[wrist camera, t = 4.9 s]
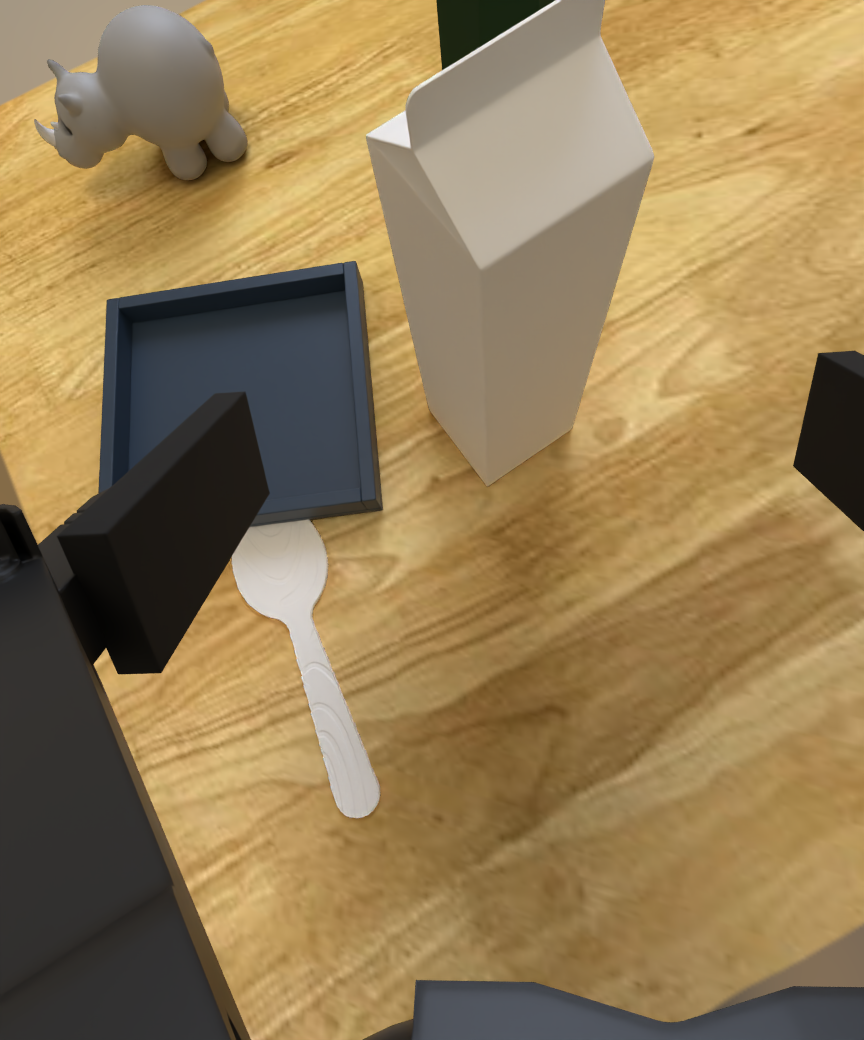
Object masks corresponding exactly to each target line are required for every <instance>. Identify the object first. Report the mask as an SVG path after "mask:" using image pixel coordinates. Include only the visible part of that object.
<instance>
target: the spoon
mask: <svg viewBox="0 0 864 1040" xmlns="http://www.w3.org/2000/svg"><path fill="white" fill-rule="evenodd" d="M232 565H233V568H232V569H233V573H234V577H235V580H236V583H237V586H238V590H239V592H241V595H242V596H243V597H244V599H245V600H246V602H247V603H248V604H249V605H250V606H251V607H252V608H254V609H255V610H256V611H257V612H259V613H260V614H262V615H264V616H267V617H269V618H273V619H278V620H280V621H282V622H283V623H285V624H286V625H287V628H288V629H289V631H290V637H291V639H292V642H293V645H294V648H295V650H294V652H295V654H296V657H297V659H296V661H297V663H298V666H299V668H300V671H301V674H302V677H301V678H302V681H303V683H304V686H303V687H304V689H305V692H306V695H307V698H308V701H309V704H308V705H309V707H310V709H311V712H312V713H311V715H312V719H313V721H314V725H315V727H316V730H315V731H316V734H317V736H318V739H319V742H320V743H319V746H320V747H321V752H322V754H323V756H324V757H323V760H324V763H325V766H326V769H327V772H328V775H329V777H328V779H329V781H330V784H331V786H330V788H331V790H332V793H333V796H334V799H335V802H336V804H337V807H338V808H340V811H341V812H343V814H345V815H346V817H347V816H348V817H349V816H350V818H351V817H352V818H353V817H354V818H357V817H358V818H359V817H360V818H362V817H364V816H366V815H369V814H370V813H371V811H374V808H375V807H376V806H377V804H378V802H379V799H380V796H381V795H380V793H381V792H380V785H379V782H378V779H377V776H375V773H374V770H373V768H372V766H371V763H370V761H369V758H368V755H367V752H366V750H365V749H364V746H363V743H362V740H361V737H360V734H358V731H357V728H356V725H355V722H354V721H353V718H352V716H351V713H350V710H349V707H348V706H347V703H346V700H345V698H344V697H343V694H342V691H341V688H340V685H339V682H338V681H337V679H336V676H335V673H334V672H333V670H332V667H331V664H330V661H329V658H328V656H327V654H326V651H325V648H323V645H322V642H321V639H320V636H319V633H318V631H317V630H316V627H315V624H314V621H313V618H312V617H313V616H312V614H313V609H314V606H315V604H316V603H317V602H318V600H319V598H320V597H321V594H322V592H323V590H324V588H325V585H326V581H327V577H328V567H329V566H328V565H329V564H328V557H327V552H326V547H325V545H324V542H323V539H322V538H321V535H319V532H318V531H317V529H316V528H315V526H314V524H313V523H312V522H311V520H309V519H307V520H302V521H294V522H286V523H277V524H269V525H262V526H254V527H249V529H248V530H247V532H246V534H245V535H244V537H243V538H242V540H241V542H240V543H239V545H238V547H237V548H236V550H235V552H234V553H233V555H232ZM345 815H344V816H345ZM358 818H357V819H358Z"/></svg>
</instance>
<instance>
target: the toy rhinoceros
mask: <svg viewBox="0 0 864 1040" xmlns="http://www.w3.org/2000/svg"><path fill="white" fill-rule="evenodd" d="M47 63H48V66H49V68H50V69H51V70H52V71H53V73H54V74H55V76H56V78H57V88H56V93H55V105H56V109H57V114H58V123H57V122H51V125H52V127H53V128H54V129H49V128H46V127H44V126H43V125H41V124H40V123H39V122H38V121H37V120H36V119H34V122H35V126H36V129H37V131H38V133H39V134H40V136H41V137H42V138H43V139H44V140H45V141H46V142H48V143H49V144H51V145H52V146H54V147H55V149H57V150H58V153H59V155H60V156H61V157H62V158H64V159H66V160H67V161H68V162H69V163H70V164H72V165H73V166H76V167H79V168H85V169H87V168H92V167H94V166H96V165H97V164H98V163H99V162H100V161H101V159H102V157H103V154H104V153H106V152H109V151H112V150H115V149H117V148H119V147H121V146H122V145H123V144H124V142H125V141H126V139H127V137H128V136H129V135H137V136H139V137H141V138H143V139H145V140H146V141H149V142H151V143H153V144H156V145H158V146H159V147H160V148H161V149H162V152H163V156H164V159H165V161H166V163H167V165H168V167H169V169H170V170H171V172H172V173H173V174H174V175H175V176H176V177H177V178H179V179H182V180H193V179H196V178H198V177H199V176H200V175H201V174H202V173H203V172H204V170H205V168H206V165H207V159H206V156H205V153H204V151H203V149H202V148H201V146H200V145H199V142H200V141H202V140H206V143H207V145H208V147H209V149H210V150H211V152H212V153H213V155H214V156H215V157H216V158H218V159H219V160H221V161H225V162H232V161H235V160H237V159H239V158H240V157H241V156H242V155H243V153H244V152H245V150H246V148H247V137H246V135H245V132H244V131H243V129H242V127H241V126H240V124H239V123H238V122H237V121H236V120H235V118H234V117H233V116H232V115H231V114H229V113H228V109H229V102H228V98H227V95H226V92H225V90H224V83H223V77H222V72H221V69H220V66H219V63H218V60H217V58H216V56H215V54H214V50H213V47H212V45H211V44H210V43H209V42H208V41H207V40H206V39H205V38H204V36H203V35H202V34H201V33H200V32H199V31H198V30H197V29H196V28H195V27H194V26H193V25H192V24H191V23H190V22H189V21H187V20H186V19H185V18H183V17H181V16H180V15H178V14H176V13H174V12H172V11H170V10H167V9H164V8H161V7H156V6H149V5H148V6H147V5H144V6H136V7H132V8H129V9H126V10H124V11H123V12H121V13H119V14H118V15H117V16H116V17H114V18H113V19H112V21H111V22H110V23H109V24H108V25H107V27H106V29H105V30H104V32H103V35H102V37H101V40H100V44H99V49H98V66H97V71H96V72H95V73H86V72H78V73H70V72H68V71H67V70H65V69H64V68H63V67H62V66H61V65H59V64H58V63H57V62H55V61H53V60H50V59H49V60H47Z"/></svg>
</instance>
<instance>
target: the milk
mask: <svg viewBox="0 0 864 1040" xmlns="http://www.w3.org/2000/svg"><path fill="white" fill-rule="evenodd" d="M604 4H605V0H555V1H554V2H552V3H550V4H549V5H547V6H546V7H544V8H542V9H541V10H539V11H537V12H536V13H534V14H533V15H531V16H529V17H528V18H526V19H525V20H523V21H521V22H520V23H518V24H517V25H515V26H513V27H512V28H510V29H508V30H507V31H505V32H504V33H502V34H500V35H499V36H497V37H496V38H494V39H492V40H491V41H489V42H487V43H486V44H484V45H483V46H481V47H479V48H478V49H476V50H475V51H473V52H471V53H470V54H468V55H466V56H465V57H463V58H462V59H460V60H458V61H457V62H455V63H454V64H452V65H450V66H449V67H447V68H445V69H444V70H442V71H441V72H439V73H437V74H436V75H434V76H433V77H431V78H429V79H428V80H426V81H425V82H423V83H421V84H420V85H418V86H417V87H415V88H414V89H413V90H412V91H411V93H410V95H409V96H408V99H407V102H406V110H405V111H403V112H402V113H400V114H399V115H397V116H395V117H394V118H392V119H391V120H389V121H387V122H386V123H384V124H383V125H381V126H379V127H378V128H376V129H375V130H373V131H371V132H370V133H368V134H367V135H366V140H367V144H368V149H369V153H370V157H371V162H372V166H373V170H374V175H375V179H376V183H377V188H378V192H379V196H380V201H381V205H382V209H383V214H384V218H385V222H386V226H387V231H388V235H389V239H390V244H391V248H392V252H393V257H394V261H395V265H396V270H397V274H398V278H399V283H400V287H401V291H402V296H403V300H404V304H405V309H406V313H407V317H408V322H409V326H410V330H411V335H412V339H413V343H414V348H415V352H416V356H417V360H418V365H419V369H420V373H421V378H422V382H423V386H424V391H425V395H426V399H427V404H428V408H429V410H430V412H431V413H432V414H433V416H434V417H435V418H436V420H437V421H438V422H439V424H440V425H441V426H442V428H443V429H444V430H445V432H446V433H447V434H448V436H449V437H450V438H451V440H452V441H453V442H454V444H455V445H456V446H457V448H458V449H459V450H460V452H461V453H462V454H463V455H464V457H465V458H466V459H467V461H468V462H469V463H470V465H471V466H472V467H473V469H474V470H475V471H476V473H477V474H478V475H479V477H480V478H481V479H482V481H483V482H484V483H485V485H486V486H489V485H491V484H492V483H494V482H495V481H496V480H498V479H499V478H501V477H502V476H504V475H505V474H507V473H508V472H510V471H511V470H513V469H514V468H516V467H517V466H518V465H520V464H521V463H523V462H524V461H526V460H527V459H529V458H530V457H532V456H533V455H535V454H536V453H538V452H539V451H541V450H542V449H543V448H545V447H546V446H548V445H549V444H551V443H552V442H554V441H555V440H557V439H558V438H560V437H561V436H563V435H564V434H565V433H567V432H568V431H570V430H571V429H572V427H573V424H574V421H575V418H576V414H577V411H578V408H579V405H580V401H581V398H582V395H583V391H584V388H585V385H586V381H587V378H588V375H589V372H590V368H591V365H592V362H593V358H594V355H595V352H596V348H597V345H598V342H599V339H600V335H601V332H602V329H603V325H604V322H605V319H606V315H607V312H608V309H609V306H610V302H611V299H612V296H613V292H614V289H615V286H616V282H617V279H618V276H619V273H620V269H621V266H622V263H623V259H624V256H625V253H626V249H627V246H628V243H629V240H630V236H631V233H632V230H633V226H634V223H635V220H636V216H637V213H638V210H639V207H640V203H641V200H642V197H643V193H644V190H645V187H646V183H647V180H648V177H649V174H650V170H651V167H652V164H653V160H654V154H653V151H652V148H651V146H650V144H649V141H648V139H647V137H646V135H645V133H644V130H643V128H642V126H641V124H640V122H639V120H638V117H637V115H636V113H635V111H634V109H633V106H632V104H631V102H630V100H629V98H628V95H627V93H626V91H625V89H624V87H623V84H622V82H621V80H620V78H619V76H618V73H617V71H616V69H615V67H614V65H613V62H612V60H611V58H610V56H609V54H608V51H607V49H606V47H605V45H604V43H603V40H602V38H601V35H600V30H601V22H602V16H603V10H604Z"/></svg>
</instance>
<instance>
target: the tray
mask: <svg viewBox="0 0 864 1040" xmlns="http://www.w3.org/2000/svg"><path fill="white" fill-rule="evenodd" d="M244 391H246V396H247V400H248V404H249V408H250V412H251V417H252V421H253V425H254V429H255V433H256V438H257V442H258V446H259V450H260V454H261V459H262V463H263V467H264V471H265V475H266V480H267V484H268V488H269V492H270V494H269V495H268V497H267V499H266V500H265V502H264V504H263V505H262V507H261V509H260V510H259V512H258V514H257V515H256V517H255V519H254V520H253V522H252V524H251V525H250V527H254V526H262V525H269V524H277V523H286V522H294V521H302V520H307V519H309V520H311V519H319V518H326V517H334V516H342V515H350V514H357V513H365V512H373V511H380V510H383V507H382V495H381V484H380V473H379V461H378V450H377V438H376V427H375V416H374V404H373V393H372V381H371V370H370V359H369V347H368V336H367V324H366V313H365V302H364V290H363V281H362V279H361V276H360V272H359V269H358V266H357V263H356V261H351V262H345V263H338V264H331V265H325V266H318V267H312V268H306V269H299V270H293V271H286V272H280V273H274V274H267V275H261V276H254V277H248V278H242V279H235V280H229V281H223V282H216V283H210V284H203V285H197V286H191V287H184V288H178V289H171V290H165V291H159V292H152V293H146V294H139V295H133V296H127V297H120V298H115V299H108V300H107V309H106V333H105V356H104V379H103V402H102V426H101V449H100V472H99V493H101V492H103V491H104V490H106V489H108V488H110V487H112V486H113V485H114V484H115V483H116V482H117V481H118V480H119V479H120V478H122V477H123V476H124V475H125V474H126V473H127V472H128V471H129V470H130V469H132V468H133V467H134V466H135V465H136V464H137V463H138V462H139V461H140V460H141V459H143V458H144V457H145V456H146V455H147V454H148V453H149V452H150V451H151V450H153V449H154V448H155V447H156V446H157V445H158V444H159V443H160V442H161V441H163V440H164V439H165V438H166V437H167V436H168V435H169V434H170V433H171V432H173V431H174V430H175V429H176V428H177V427H178V426H179V425H180V424H181V423H183V422H184V421H185V420H186V419H187V418H188V417H189V416H190V415H191V414H192V413H194V412H195V411H196V410H197V409H198V408H199V407H200V406H201V405H202V404H204V403H205V402H206V401H207V400H208V399H209V398H210V397H211V396H212V395H214V394H215V393H229V392H244Z"/></svg>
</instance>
